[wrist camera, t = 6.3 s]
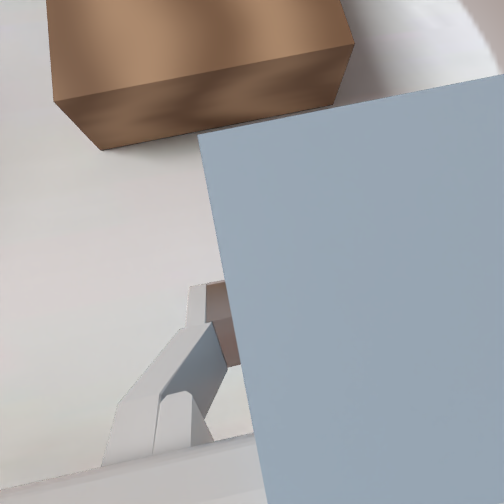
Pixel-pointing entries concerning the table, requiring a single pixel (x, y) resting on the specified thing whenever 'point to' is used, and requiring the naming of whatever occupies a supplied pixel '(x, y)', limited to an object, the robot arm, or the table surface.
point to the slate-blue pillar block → (370, 294)
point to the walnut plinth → (191, 63)
